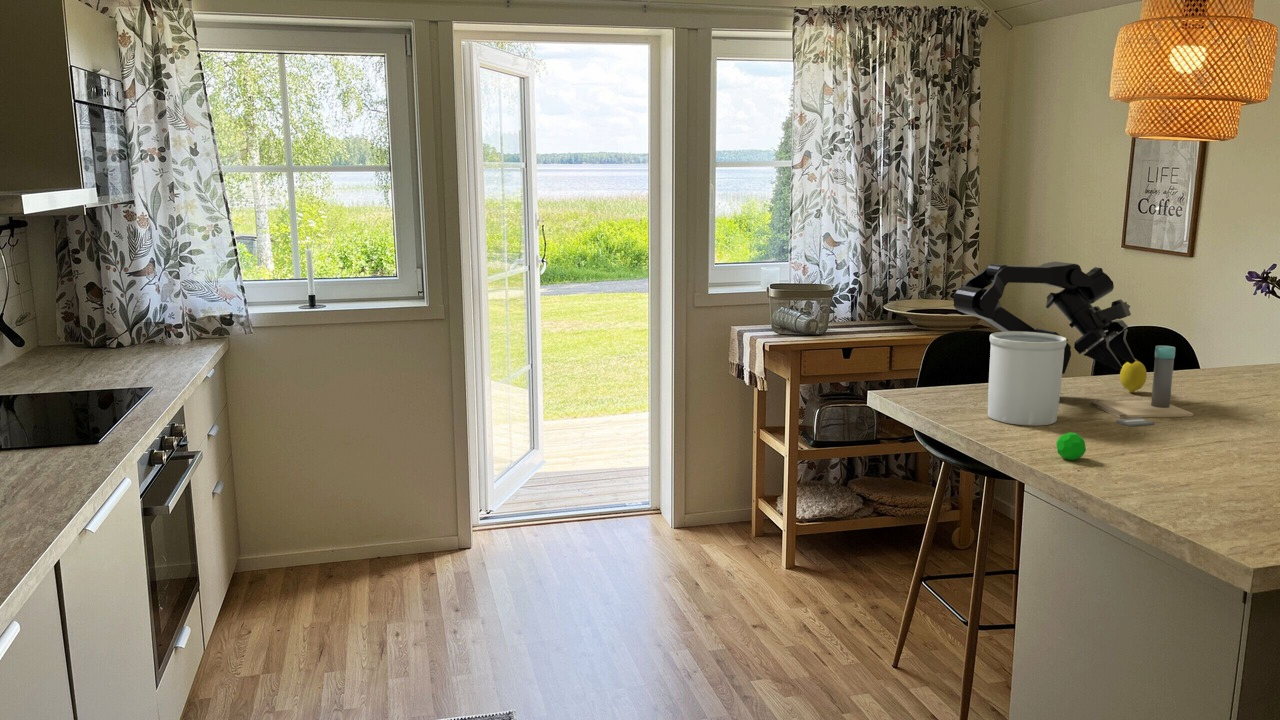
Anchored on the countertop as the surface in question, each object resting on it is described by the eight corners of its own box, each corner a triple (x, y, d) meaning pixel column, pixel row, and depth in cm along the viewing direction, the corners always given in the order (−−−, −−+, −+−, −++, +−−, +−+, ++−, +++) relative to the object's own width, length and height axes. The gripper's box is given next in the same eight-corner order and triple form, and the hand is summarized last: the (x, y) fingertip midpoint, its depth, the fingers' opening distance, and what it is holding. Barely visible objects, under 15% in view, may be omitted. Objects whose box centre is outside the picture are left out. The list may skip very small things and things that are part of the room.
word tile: (1128, 426, 198) (1128, 423, 198) (1115, 421, 202) (1115, 419, 202) (1153, 424, 199) (1154, 422, 199) (1139, 419, 203) (1140, 417, 203)
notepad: (1119, 418, 205) (1119, 414, 204) (1090, 404, 216) (1090, 401, 216) (1193, 416, 205) (1193, 413, 205) (1160, 402, 217) (1160, 399, 217)
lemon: (1149, 395, 224) (1152, 361, 222) (1125, 395, 224) (1128, 361, 223) (1137, 389, 230) (1140, 356, 228) (1114, 390, 230) (1117, 356, 228)
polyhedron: (1091, 461, 175) (1093, 436, 174) (1068, 464, 174) (1070, 438, 173) (1071, 453, 180) (1073, 428, 179) (1049, 456, 179) (1051, 431, 178)
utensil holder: (995, 406, 216) (1000, 328, 212) (1067, 415, 207) (1073, 334, 204) (975, 420, 204) (980, 338, 200) (1050, 430, 195) (1057, 345, 192)
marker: (1156, 408, 210) (1161, 349, 207) (1146, 403, 214) (1151, 345, 211) (1173, 407, 210) (1179, 348, 208) (1163, 403, 214) (1168, 345, 211)
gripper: (1093, 293, 208) (1144, 350, 203) (1121, 284, 222) (1170, 337, 217) (1053, 325, 215) (1102, 381, 210) (1082, 315, 229) (1129, 367, 223)
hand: (1127, 365), depth 215 cm, fingers open, 9 cm apart
